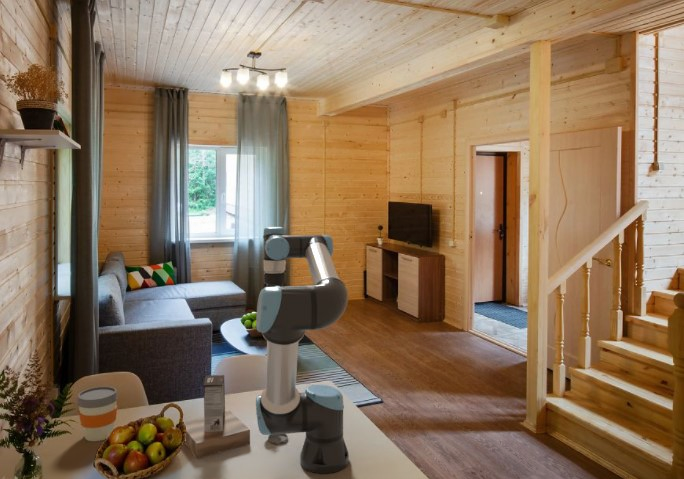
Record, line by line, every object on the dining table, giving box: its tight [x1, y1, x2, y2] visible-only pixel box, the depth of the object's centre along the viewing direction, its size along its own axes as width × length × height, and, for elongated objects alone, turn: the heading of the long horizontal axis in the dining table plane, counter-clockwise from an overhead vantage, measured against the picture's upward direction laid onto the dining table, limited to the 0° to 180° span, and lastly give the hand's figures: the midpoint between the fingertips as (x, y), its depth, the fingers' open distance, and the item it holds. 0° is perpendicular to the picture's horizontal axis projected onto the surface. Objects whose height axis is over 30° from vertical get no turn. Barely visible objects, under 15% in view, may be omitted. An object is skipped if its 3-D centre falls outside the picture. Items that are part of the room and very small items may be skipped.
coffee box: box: [203, 374, 226, 432], centre depth 180 cm, size 9×6×16 cm
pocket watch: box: [267, 434, 289, 444], centre depth 182 cm, size 8×8×10 cm
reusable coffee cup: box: [76, 386, 118, 442], centre depth 184 cm, size 13×13×15 cm
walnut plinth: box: [182, 410, 251, 460], centre depth 181 cm, size 18×18×5 cm
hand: (275, 331), depth 188 cm, fingers open, 13 cm apart
